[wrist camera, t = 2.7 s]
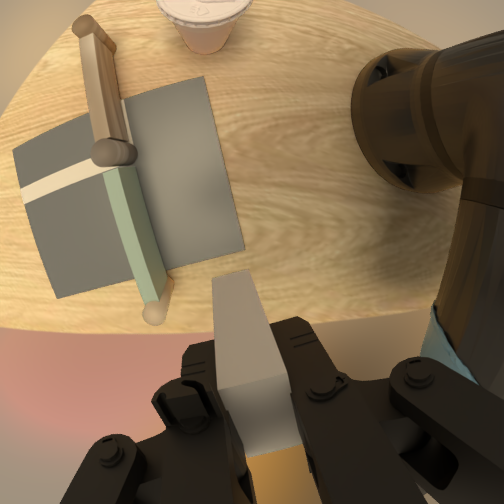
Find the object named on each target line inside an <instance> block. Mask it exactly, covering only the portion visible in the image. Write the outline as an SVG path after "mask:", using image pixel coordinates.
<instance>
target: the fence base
mask: <svg viewBox="0 0 504 504" xmlns="http://www.w3.org/2000/svg"><path fill="white" fill-rule="evenodd" d="M72 32H73V33H74V34H75V35H76V36H78V37H79V38H80V39H79V46H80V55H81V63H82V71H83V78H84V85H85V91H86V97H87V103H88V109H89V114H90V119H91V124H92V129H93V134H94V139H95V143H94V145H93V146H92V148H91V153H90V155H91V160H92V162H93V163H94V164H95V165H96V166H98V167H116V166H129V165H131V164H133V163H134V162H135V161H136V159H137V156H138V152H137V149H136V147H135V146H134V145H132V144H130V143H126V142H128V141H129V139H128V134H127V130H126V125H125V121H124V116H123V111H122V106H121V101H120V96H119V91H118V85H117V80H116V74H115V68H114V62H113V55H114V53H115V52H116V45H115V43H114V42H113V41H112V40H111V39H110V37H109V36H108V35H107V34H106V33H105V31H104V30H103V29H102V28H101V27H100V25H99V24H98V23H97V22H96V21H95V20H94V18H93V17H92V16H91V15H82V16H80V17H79V18H77V19H76V20H75V21H74V23H73V25H72Z"/></svg>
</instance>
